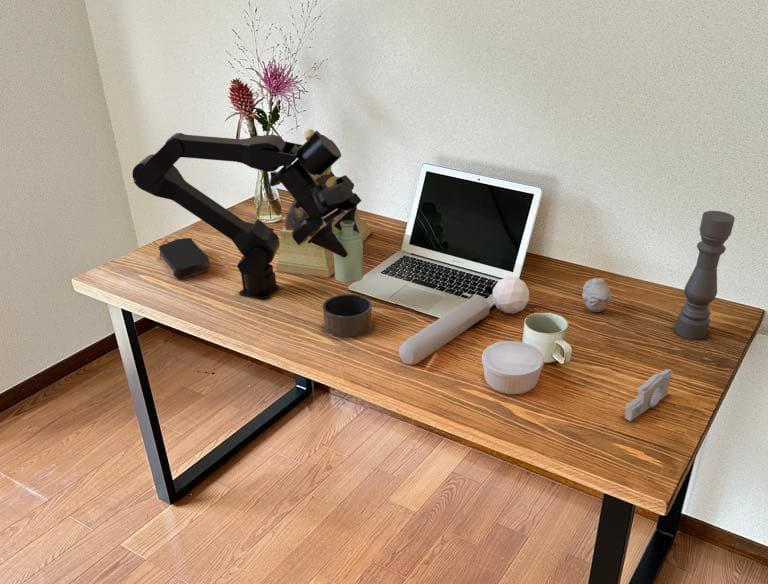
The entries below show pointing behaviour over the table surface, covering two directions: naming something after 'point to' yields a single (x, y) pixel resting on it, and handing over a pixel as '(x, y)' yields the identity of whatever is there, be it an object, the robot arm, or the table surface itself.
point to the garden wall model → (649, 394)
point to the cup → (347, 315)
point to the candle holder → (704, 275)
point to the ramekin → (512, 366)
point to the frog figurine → (596, 294)
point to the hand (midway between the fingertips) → (353, 250)
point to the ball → (510, 295)
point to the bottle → (349, 254)
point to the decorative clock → (305, 254)
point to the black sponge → (184, 258)
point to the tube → (444, 330)
